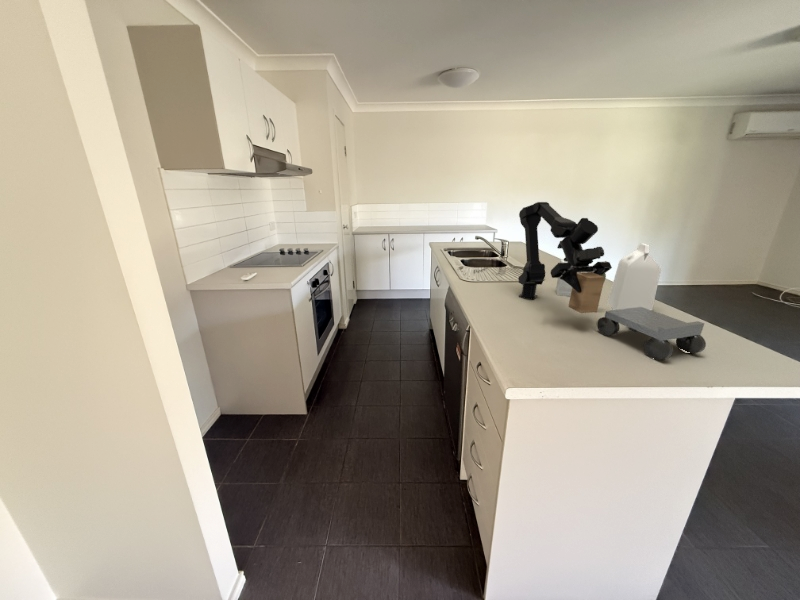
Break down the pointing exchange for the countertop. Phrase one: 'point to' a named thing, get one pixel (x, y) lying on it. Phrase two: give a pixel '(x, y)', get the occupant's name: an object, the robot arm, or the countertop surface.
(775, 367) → the countertop surface
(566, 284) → the skincare box
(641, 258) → the milk
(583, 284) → the block
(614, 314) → the trolley
